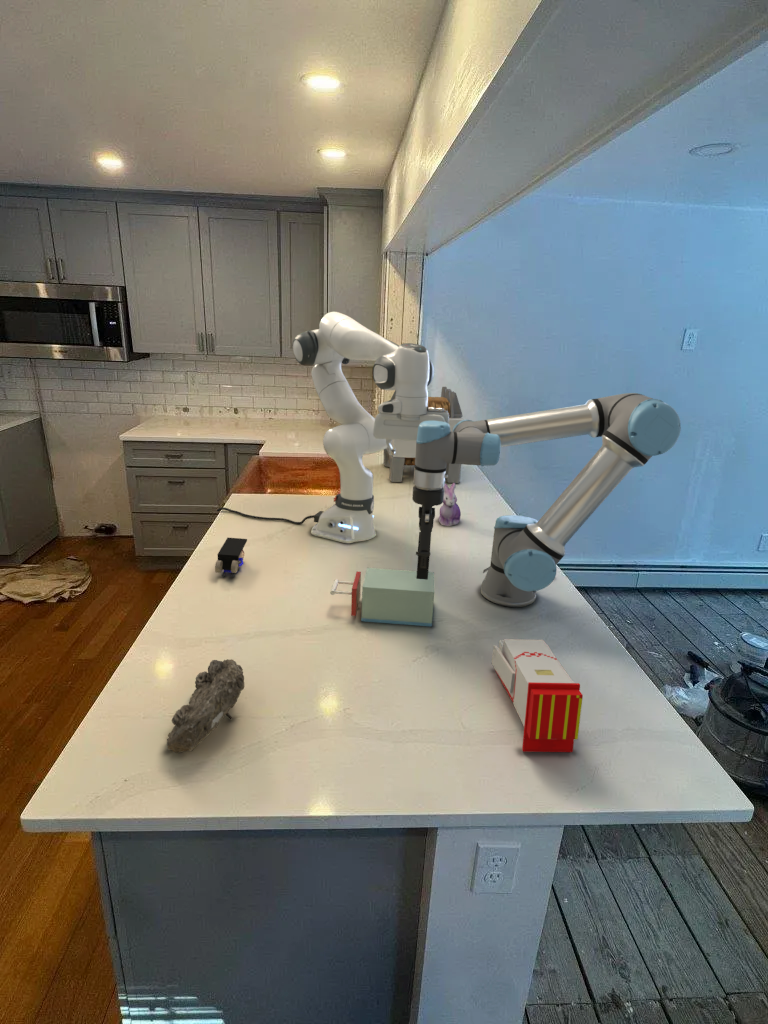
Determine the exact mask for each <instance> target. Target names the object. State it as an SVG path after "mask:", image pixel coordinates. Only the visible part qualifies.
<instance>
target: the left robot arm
mask: <svg viewBox="0 0 768 1024" xmlns="http://www.w3.org/2000/svg"><path fill="white" fill-rule="evenodd" d="M318 327H319V328H318V329H317V328H316V329H312V330H311V329H308V330H307V331H306V330H305V331H303V332H301V333H298V334H297V335H295V337H294V339H293V341H292V354H293V356H294V358H295V360H296V362H297V363H298V364H299V365H301V366H305V367H310V366H311V367H312V366H313V367H312V368H311V372H310V373H311V375H310V376H311V379H312V383H313V386H314V389H315V391H316V392H315V393H316V394H317V397H318V398H319V401H320V402H321V405H322V407H323V410H324V411H325V413H326V415H327V417H328V418H329V419H330V420H331V421H334V422H336V423H338V424H339V425H337V426H334V427H331V428H329V429H327V430H326V431H325V433H324V435H323V439H322V446H323V450H324V452H325V453H326V455H327V456H328V457H329V458H330V459H332V460H333V461H334V462H335V464H336V466H337V468H338V472H339V481H340V484H339V485H340V488H339V489H340V490H339V491H338V492H337V494H336V495H335V496H334V497H333V502H334V504H333V505H331V506H329V507H328V508H326V509H325V510H320V511H317V512H316V513H315V514H313V515H308V516H305V517H304V518H303V519H302V520H301V521H294V520H291V519H288V518H284V517H265V516H257V515H252V514H247V513H243V512H241V511H238V510H233V509H230V508H228V507H224V506H222V507H218V508H217V510H216V512H220V511H227V512H229V513H233V514H237V515H240V516H243V517H245V518H246V517H247V518H251V519H257V520H263V521H264V520H266V521H283V522H287V523H290V524H293V525H299V526H300V525H303V524H304V523H305V522H306V520H307V521H308V520H309V519H313V523H315V524H314V525H313V526H312V528H311V530H310V533H311V536H315V537H319V538H323V539H326V540H330V541H336V542H339V543H343V544H352V543H357V542H365V541H368V540H372V539H373V538H375V537H376V535H377V532H376V528H375V523H374V517H375V515H374V513H373V512H374V509H375V496H374V474H373V472H372V471H371V469H369V468H368V467H366V466H365V465H364V462H363V457H364V456H370V455H374V454H377V453H381V452H382V451H384V449H386V448H389V449H390V450H389V455H395V451H396V448H393V447H392V445H391V442H392V440H407V441H416V440H417V433H418V426H419V424H420V423H421V422H424V421H442V422H446V423H448V422H449V413H448V411H446V410H444V408H433V407H427V406H428V397H429V392H428V388H429V386H430V384H431V383H432V381H433V379H434V376H435V366H434V363H433V362H432V360H431V358H430V355H429V351H428V349H427V347H425V346H424V345H421V344H418V343H414V342H413V343H412V342H404V343H401V344H400V345H399V344H397V343H395V342H393V341H392V340H390V339H388V338H386V337H384V336H382V335H380V334H379V333H377V332H374V331H372V330H371V329H369V328H368V327H366V326H364V325H362V324H361V323H360V322H358V321H356V320H355V319H354V318H352V317H350V316H349V315H347V314H344V313H342V312H339V311H329V312H327V313H326V314H324V315H323V317H322V318H321V319H320V321H319V325H318ZM350 360H351V361H374V363H373V367H372V379H373V382H374V384H375V385H376V387H378V388H379V389H380V390H384V391H395V390H396V394H395V399H393V400H391V399H389V400H386V401H383V402H381V403H380V404H378V407H377V410H378V413H377V414H376V415H375V417H374V416H373V415H372V414H371V413H369V412H368V411H367V410H366V409H365V408H364V406H362V405H361V403H360V402H359V400H358V399H357V397H356V395H355V393H354V391H353V389H352V387H351V385H350V383H349V382H348V380H347V378H346V376H345V374H344V373H343V369H342V364H343V365H348V364H349V363H350ZM427 411H428V412H427ZM444 411H445V412H444Z"/></svg>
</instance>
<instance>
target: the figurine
mask: <svg viewBox="0 0 768 1024" xmlns="http://www.w3.org/2000/svg"><path fill="white" fill-rule="evenodd" d="M443 488H444V499H443V503H442V505H440V508H439V516H438V522H439V523H440V525H441V526H447V527H451V526H455V525H458V524H459V522H460V520H461V515H462V514H461V509H460V506H459V504H458V503H457V501H458V498H457V495H456V492H455V489H456V483H451V486H450V487H449V485H448V484H447V483H445V486H444V487H443Z"/></svg>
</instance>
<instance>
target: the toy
mask: <svg viewBox="0 0 768 1024" xmlns="http://www.w3.org/2000/svg"><path fill="white" fill-rule="evenodd" d="M491 665H492V667H493V668H494V671H495V673H496V674H497V677H498V678H499V680H500V682H501V684H502V686H503V687H504V689H505V691H506V693H507V695H508V696H509V699H510V700H511V702H512V703H513V706H514V708H515V711H516V713H517V715H518V717H519V719H520V722H521V723H522V726H523V737H522V747H521V751H522V752H523V753H524V752H525V753H527V752H528V753H532V752H533V753H534V752H535V753H573V752H574V744H575V740H578V739H579V732H580V724H581V723H580V722H581V714H582V705H583V696H584V694H583V693H582V692H581V684H580V683H579V682H574V681H573V679H572V677H570V675H569V674H568V673H567V671H566V670H565V668H564V667H563V665H562V664H561V662H560V661H559V659H557V657H556V656H555V654H554V652H553V651H552V649H551V648H550V646H549V645H548V644H547V643H546V641H545V640H544V639H522V638H521V639H517V638H503V640H499V642H498V646H497V644H494V645H493V649H492V656H491Z"/></svg>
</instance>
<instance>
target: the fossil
mask: <svg viewBox="0 0 768 1024" xmlns="http://www.w3.org/2000/svg"><path fill="white" fill-rule="evenodd" d="M243 670H244V669H243V667H242V665H240V664H237V662H236V661H235V660H234V659H232V658H231V659H227V658H226V659H224V660H223V661H222V660H217V659H212V660H211V661H210V663H209V665H208V666H207V671H201V672H199V673H198V674H197V675H196V676H195V680H194V684H195V685H194V687H195V689H194V690H193V693H192V694H191V697H190V698H189V700H188V704H184V705H182V706H181V707H180V709H177V710H176V711H175V713H174V715H173V716H172V718H171V723H172V724H173V727H172V730H171V731H170V732H168V734H167V738H166V741H167V742H166V745H167V749H168V750H169V751H173V752H174V753H176V754H178V753H182V752H188V751H189V752H192V751H193V750H195V748H196V747H197V746H199V744H200V743H201V742H203V741H204V740H205V739H206V738H207V737H208V736H209V735H210V734H211V733H212V732H214V730H215V729H217V727H218V726H219V724H220V722H221V721H222V720H223V719H224V718H225V716H226V717H227V719H229V720H233V717H232V715H230V714H229V710H230V709H231V708H234V706H235V704H236V703H237V702H238V699H239V697H240V695H241V693H242V691H243V690H245V689H244V688H245V675H244V671H243Z"/></svg>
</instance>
